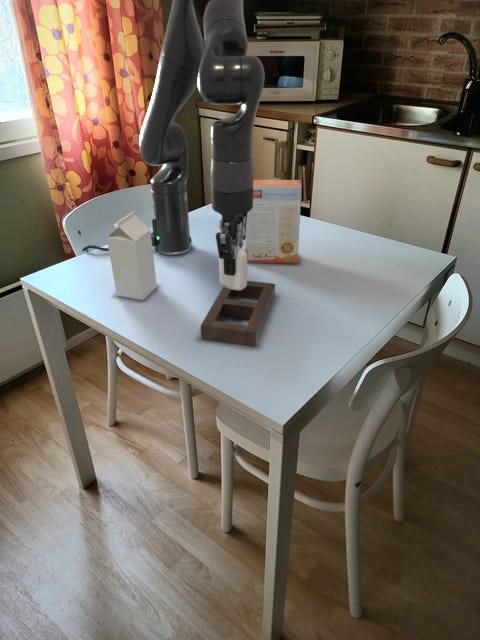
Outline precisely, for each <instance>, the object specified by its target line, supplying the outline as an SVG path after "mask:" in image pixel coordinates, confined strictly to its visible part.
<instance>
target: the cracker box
mask: <svg viewBox="0 0 480 640" xmlns="http://www.w3.org/2000/svg"><path fill="white" fill-rule="evenodd" d="M302 186H303V185H302V179H301V180H300V179H253V208H252V209H251V210H250V211H249V212H248V214H247V223H246V235H245V236H246V238H245V240H244V246H245V247H244V251H245V252H246V254H247V263H257V264H258V263H259V264H294V265H295V264H298V262H299V245H300V243H299V241H300V226H301V225H300V224H301V207H302V205H301V203H302Z"/></svg>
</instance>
